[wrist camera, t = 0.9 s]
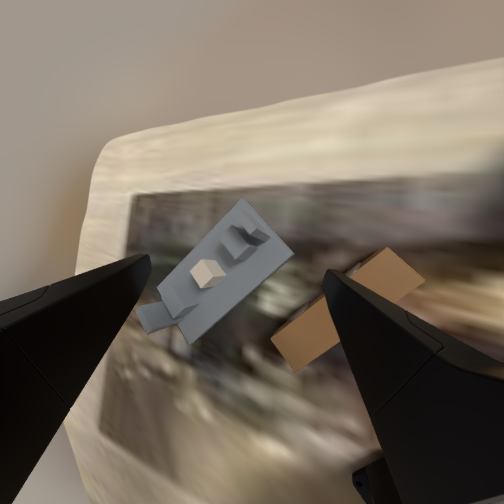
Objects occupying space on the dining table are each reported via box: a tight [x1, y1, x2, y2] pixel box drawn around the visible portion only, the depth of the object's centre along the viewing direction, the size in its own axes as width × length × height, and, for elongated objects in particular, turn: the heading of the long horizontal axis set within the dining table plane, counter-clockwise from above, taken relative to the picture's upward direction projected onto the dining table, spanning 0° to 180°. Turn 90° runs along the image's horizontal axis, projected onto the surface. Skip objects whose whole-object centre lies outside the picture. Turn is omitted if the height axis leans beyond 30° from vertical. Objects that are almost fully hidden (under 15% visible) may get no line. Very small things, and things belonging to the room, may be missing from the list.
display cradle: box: [135, 198, 295, 345], centre depth 20 cm, size 9×17×6 cm, turn 130°
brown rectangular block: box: [270, 247, 426, 372], centre depth 17 cm, size 13×4×3 cm, turn 131°
